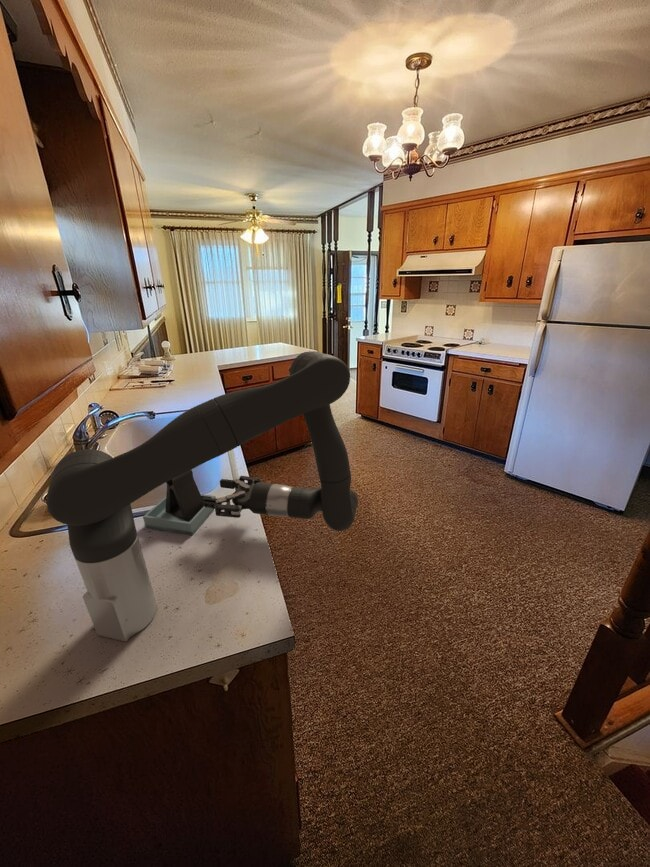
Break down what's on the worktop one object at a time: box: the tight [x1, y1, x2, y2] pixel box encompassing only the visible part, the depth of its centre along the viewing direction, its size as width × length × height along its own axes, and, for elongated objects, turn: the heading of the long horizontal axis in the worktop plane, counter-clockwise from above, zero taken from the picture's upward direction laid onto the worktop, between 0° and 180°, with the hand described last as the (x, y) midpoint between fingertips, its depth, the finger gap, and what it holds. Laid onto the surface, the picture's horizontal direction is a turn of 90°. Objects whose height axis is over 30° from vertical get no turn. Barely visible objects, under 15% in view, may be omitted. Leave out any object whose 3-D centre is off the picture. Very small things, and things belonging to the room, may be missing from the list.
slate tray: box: [142, 493, 217, 536], centre depth 92 cm, size 12×13×4 cm
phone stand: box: [165, 469, 204, 522], centre depth 91 cm, size 9×6×12 cm, turn 60°
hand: (212, 492), depth 87 cm, fingers open, 8 cm apart
